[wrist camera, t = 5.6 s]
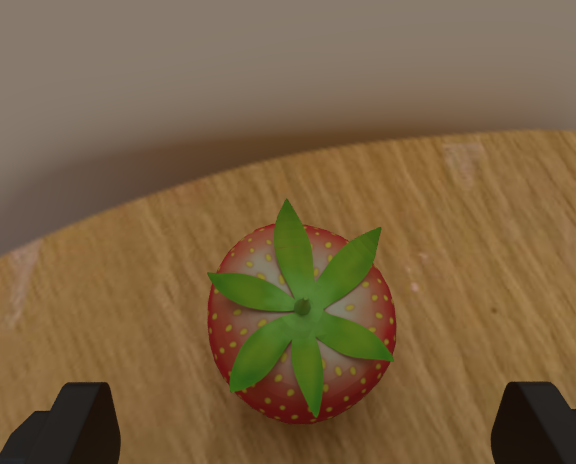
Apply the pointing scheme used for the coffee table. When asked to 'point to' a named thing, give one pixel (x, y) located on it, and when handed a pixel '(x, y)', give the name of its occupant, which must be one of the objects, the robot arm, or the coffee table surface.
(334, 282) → the fruit
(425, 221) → the coffee table surface
